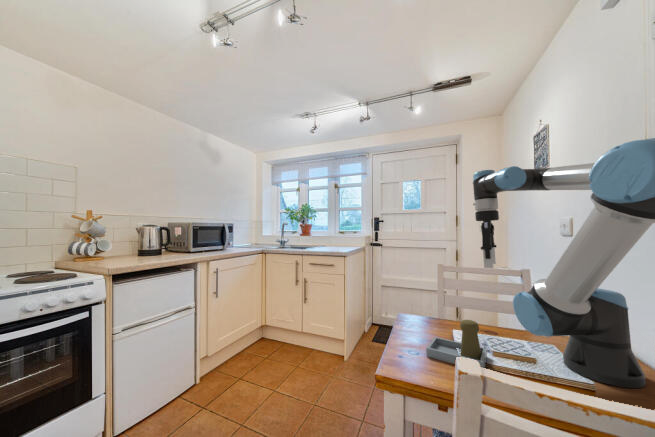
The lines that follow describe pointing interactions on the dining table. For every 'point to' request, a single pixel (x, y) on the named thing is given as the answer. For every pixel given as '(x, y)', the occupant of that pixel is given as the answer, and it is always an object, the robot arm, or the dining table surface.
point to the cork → (470, 340)
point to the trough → (449, 351)
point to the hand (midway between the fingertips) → (490, 265)
